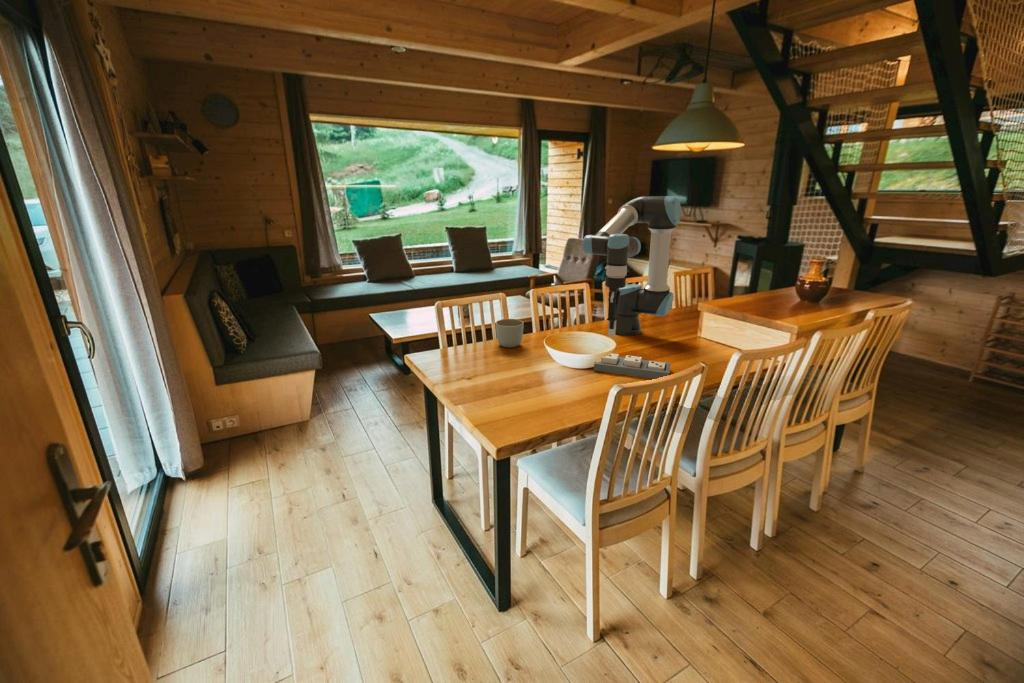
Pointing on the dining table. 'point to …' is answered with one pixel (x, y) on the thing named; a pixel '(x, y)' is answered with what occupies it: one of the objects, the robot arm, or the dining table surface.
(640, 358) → the tile two pips
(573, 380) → the dining table surface
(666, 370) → the board
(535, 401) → the dining table surface
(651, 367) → the tile three pips
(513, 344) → the planter
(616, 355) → the tile one pip
